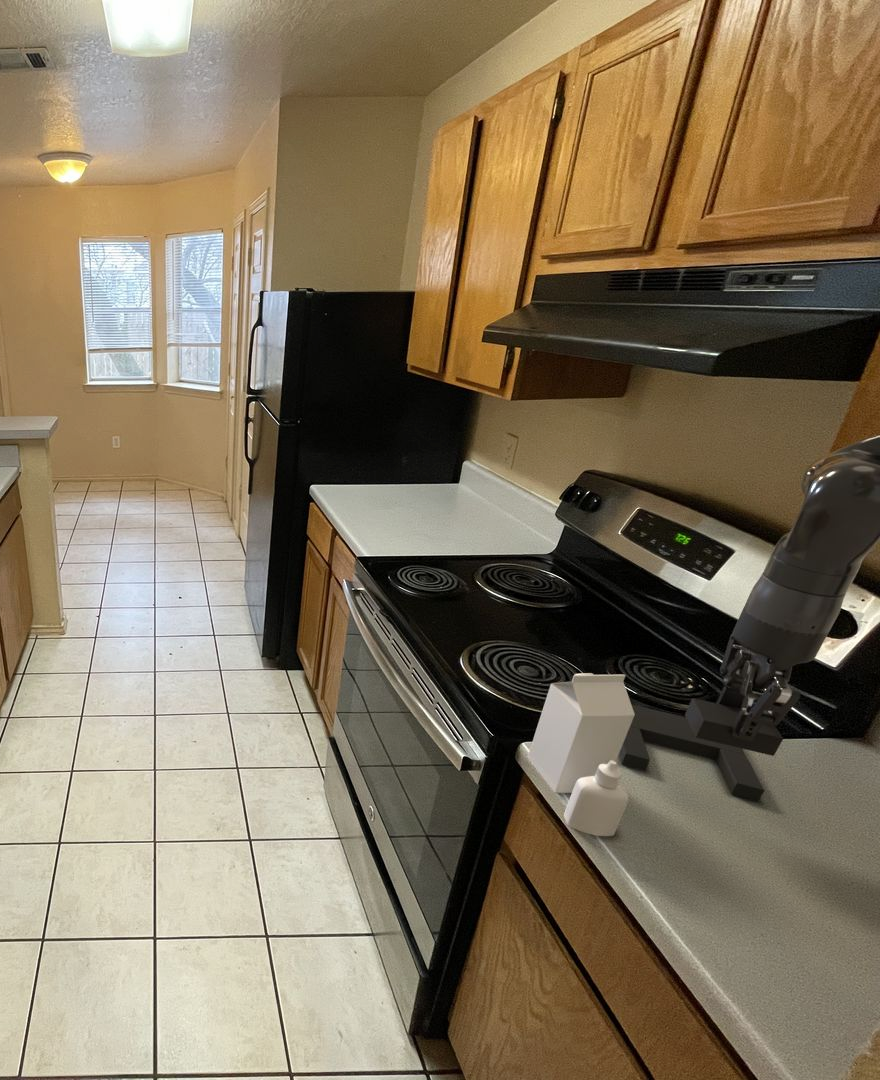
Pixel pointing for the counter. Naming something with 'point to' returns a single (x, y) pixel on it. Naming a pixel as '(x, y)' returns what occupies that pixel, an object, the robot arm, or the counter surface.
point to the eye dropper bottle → (597, 802)
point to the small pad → (729, 727)
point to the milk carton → (580, 728)
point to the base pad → (687, 749)
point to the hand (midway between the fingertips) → (732, 723)
